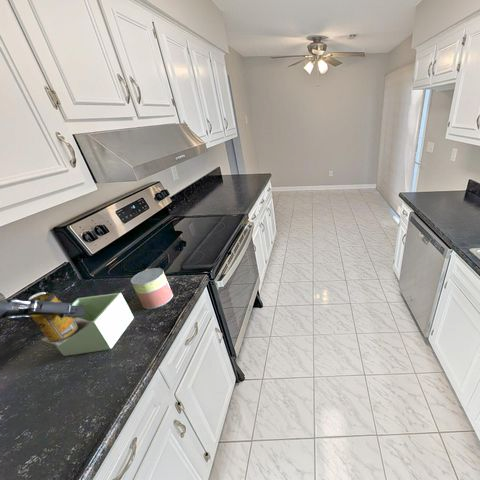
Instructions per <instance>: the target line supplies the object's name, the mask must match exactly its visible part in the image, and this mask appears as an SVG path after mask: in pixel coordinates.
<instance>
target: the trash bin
mask: <svg viewBox="0 0 480 480" xmlns="http://www.w3.org/2000/svg"><path fill="white" fill-rule="evenodd" d="M72 306H85V309H84V316H83V317H73V316H72V318H73V319H75V318H80V319H83V320H88V321H93V322H92V323H90V324H89V325H88V326H86V327H85V328H83V329H82V330H80V331H79V332H78V333H76V334H75V335H73V336H72V337H71V338H69V339H68V340H66V341H65V342H63V343H62V344H60V345H59V346H58V345H55V347H56V348H57V349H58V351H59V352H60V353H61V354H62V357H63V356H64V357H66V356H67V357H68V356H74V355H80V354H88V353H93V352H100V351H107V350H112V349H113V348H114V346H115V344H116V343H117V342H118V340H119V339H120V338H121V337H122V335H123V333H124V332H125V331H126V330H127V329H128V327H129V325H130V324H131V323H132V322H133V320H134V318H135V317H134V315H133V313H132V311H131V309H130V307H129V305H128V303H127V301H126V300H125V298H124V296H123V293H122V292H117V293H116V292H115V293H109V294H107V293H106V294H100V295H93V296H85V297H77V298H76V299H75V300H73V302H72Z"/></svg>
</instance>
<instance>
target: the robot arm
mask: <svg viewBox="0 0 480 480" xmlns="http://www.w3.org/2000/svg"><path fill="white" fill-rule="evenodd" d="M72 303H73V302H72ZM72 303H71V302H62V303H59V302H45V301H39V300H31V301H29V300H19V299H7V298H6V296H5V295H4V294H3V293H1V292H0V321H13V322H16V321H19V320H22V321H27V320H33V319H32V318H31V315H59V316H60V318H65V316H73V317H83V316H84V309H85V306H72ZM33 321H34V320H33Z"/></svg>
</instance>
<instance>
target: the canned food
mask: <svg viewBox="0 0 480 480" xmlns="http://www.w3.org/2000/svg"><path fill="white" fill-rule="evenodd" d="M130 283H131V285H132V286H133V288H134V291H135V293H136V295H137V297H138V299H139V301H140V303H141V306H142V308H144V309H147V310H152V309H153V310H154V309H157V308H159V307H162V306H164V305H166V304H168V302H170V301H172V298H174V297H173V296H174V293H173V291H172V289H171V286H170V283H169V281H168V279H167V276H166V274H165V271H164V269H163V268H161V267H154V268H153V267H152V268H148V269H145V270H142V271H140V272H137V274H135V275H133V277H131V279H130Z"/></svg>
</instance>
